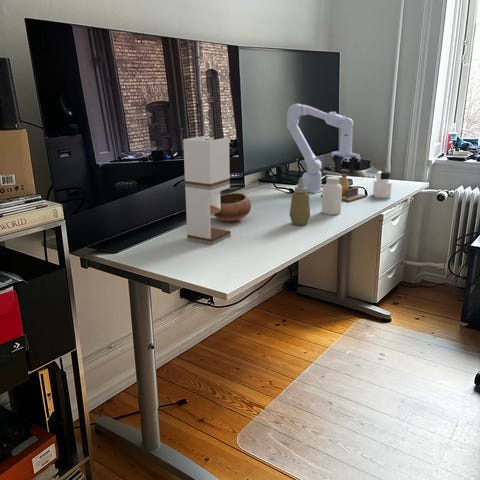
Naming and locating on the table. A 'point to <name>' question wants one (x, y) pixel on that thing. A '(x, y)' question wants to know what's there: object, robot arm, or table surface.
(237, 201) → the bowl
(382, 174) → the medicine bottle
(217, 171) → the white tower
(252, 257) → the table surface
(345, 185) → the amber bottle
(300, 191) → the squeeze bottle
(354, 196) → the bottle rest
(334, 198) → the pill bottle
